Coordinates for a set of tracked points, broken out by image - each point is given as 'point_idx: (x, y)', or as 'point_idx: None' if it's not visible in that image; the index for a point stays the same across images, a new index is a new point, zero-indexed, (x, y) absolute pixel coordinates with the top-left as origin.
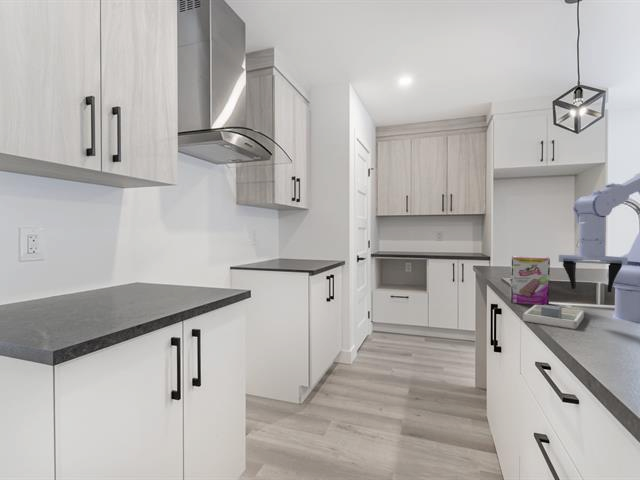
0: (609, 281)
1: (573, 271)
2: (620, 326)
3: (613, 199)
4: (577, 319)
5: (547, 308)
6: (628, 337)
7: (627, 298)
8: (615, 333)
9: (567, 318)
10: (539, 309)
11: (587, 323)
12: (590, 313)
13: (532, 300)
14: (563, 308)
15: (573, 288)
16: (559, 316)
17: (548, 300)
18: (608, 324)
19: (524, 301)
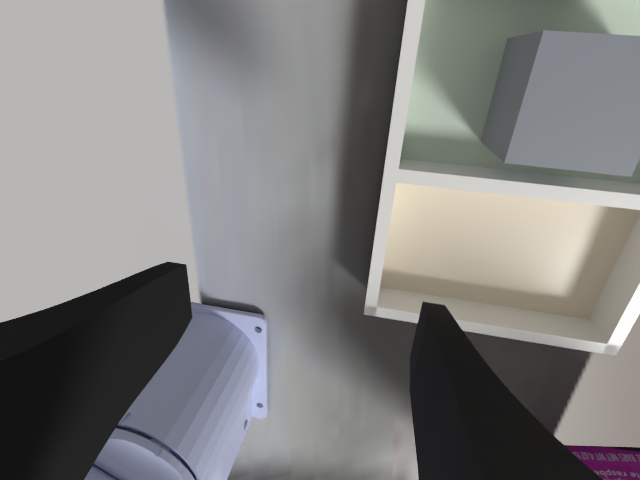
0: (104, 304)
1: (468, 453)
2: (234, 232)
3: None
4: (403, 43)
5: (635, 36)
6: (187, 25)
7: (166, 391)
8: (239, 75)
9: (448, 167)
10: (581, 324)
11: (353, 214)
12: (342, 397)
13: (595, 471)
14: (460, 319)
15: (432, 305)
16: (511, 73)
17: None
18: (275, 243)
19: (636, 464)
